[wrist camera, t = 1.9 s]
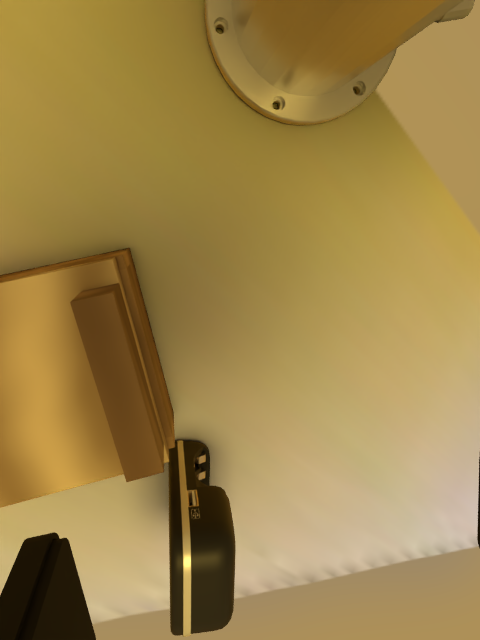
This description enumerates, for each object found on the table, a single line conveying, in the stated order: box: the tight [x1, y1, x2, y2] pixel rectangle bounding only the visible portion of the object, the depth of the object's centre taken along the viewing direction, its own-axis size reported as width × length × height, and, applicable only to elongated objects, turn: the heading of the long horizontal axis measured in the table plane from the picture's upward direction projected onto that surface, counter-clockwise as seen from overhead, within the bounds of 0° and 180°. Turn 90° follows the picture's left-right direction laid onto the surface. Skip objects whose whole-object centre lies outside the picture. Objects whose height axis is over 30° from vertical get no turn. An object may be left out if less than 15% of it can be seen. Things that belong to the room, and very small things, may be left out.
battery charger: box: [168, 440, 235, 637], centre depth 29 cm, size 7×4×11 cm, turn 178°
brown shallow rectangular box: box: [0, 248, 175, 449], centre depth 28 cm, size 18×13×5 cm
